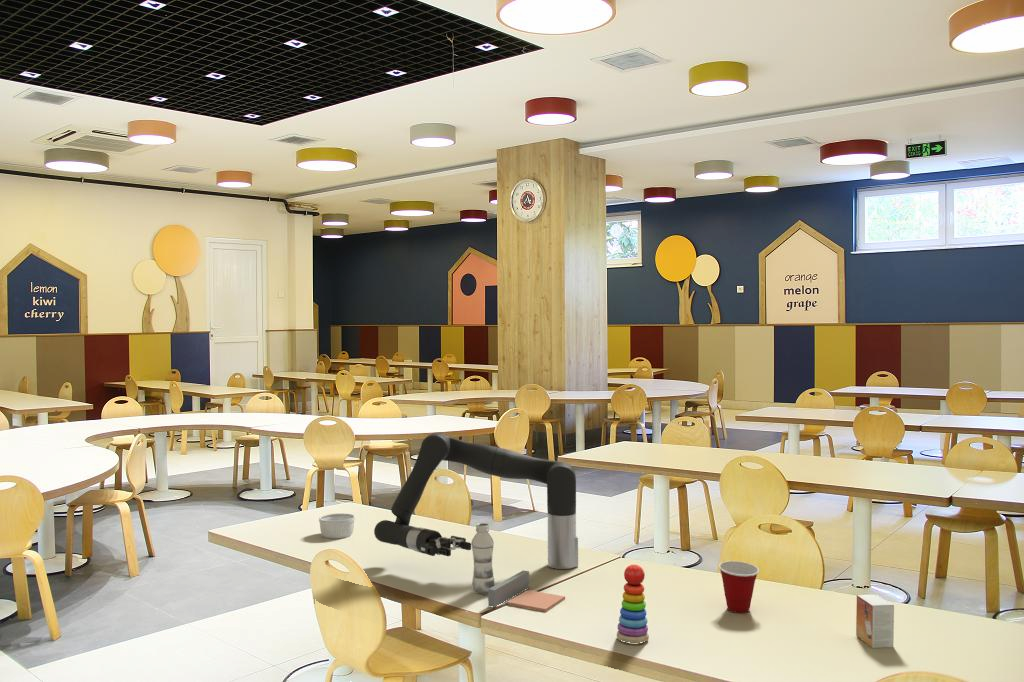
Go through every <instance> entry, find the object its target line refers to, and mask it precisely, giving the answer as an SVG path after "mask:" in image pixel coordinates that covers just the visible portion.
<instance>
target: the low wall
mask: <svg viewBox="0 0 1024 682" xmlns="http://www.w3.org/2000/svg"><path fill="white" fill-rule="evenodd" d="M527 588H528V589H530V571H528V570H524V569H522V571H519V572H518V573H516V574H514V575H512V576H509V577H508V578H506V579H505V580H503V581H501V582H499V583H497V584H495V586H493V587H491V588H490V589H488V593H487V594H488V597H487V598H488V599H487V600H488V605H487V606H488V607H489V606H493V607H496V606H497V605H499V604H501V603H503V602H504V601H506V600H508V599H509V600H511V599H513V598H514V597H513V596H515V595H516V596H518V595H520V594H522V593H523V592H525V591H526V590H525V589H527ZM528 589H527V590H528ZM524 590H525V591H524ZM522 591H523V592H522ZM519 593H520V594H519ZM517 594H518V595H517ZM516 596H515V597H516ZM512 597H513V598H512ZM510 598H511V599H510ZM509 600H508V601H509ZM506 602H507V601H506ZM504 603H505V602H504ZM504 603H503V604H504ZM501 605H502V604H501ZM499 606H500V605H499ZM497 607H498V606H497ZM497 607H496V608H497Z"/></svg>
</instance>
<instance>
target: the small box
mask: <svg viewBox="0 0 1024 682" xmlns="http://www.w3.org/2000/svg"><path fill="white" fill-rule="evenodd" d="M855 615H856V616H855V618H856V620H855V621H856V622H855V624H856V625H855V636H856V637H857V638H859V639H861V640H862V641H863V642H864V643H865V644H866V645H868V646H869V647H870V648H871V649H880V648H881V649H882V648H884V649H885V648H894V636H895V635H894V633H895V632H894V629H895V626H894V625H895V624H894V623H895V620H894V619H895V605H894V604H893V603H891V602H889V601H888V600H887V599H885V598H883V597H882V596H880V595H879V594H857V595H856V613H855Z"/></svg>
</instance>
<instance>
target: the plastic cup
mask: <svg viewBox="0 0 1024 682" xmlns="http://www.w3.org/2000/svg"><path fill="white" fill-rule="evenodd" d="M718 568H719V570H720V575H721V579H722V580H721V581H722V585H723V590H724V591H723V592H724V597H725V601H726V607H727V609H728V611H730V612H732V613H737V614H743V613H745V614H747V613H749V611H750V609H751V603H752V599H753V594H754V588H755V583H756V579H757V577H758V574H759V573H760V569H759V567H757V566H756V565H754V564H752V563H749V562H744V561H738V560H727V561H726V560H725V561H723V562H720V563H719V564H718Z"/></svg>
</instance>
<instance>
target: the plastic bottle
mask: <svg viewBox="0 0 1024 682" xmlns="http://www.w3.org/2000/svg"><path fill="white" fill-rule="evenodd" d="M475 528H476V529H475V532H476V533H475V534H474V536H473V537H472V539H471V542H470V543H471V550H472V557H473V572H472V573H473V574H472V575H473V576H472V580H471V581H472V582H471V586H472V590H473V592H475V593H478V594H488V589H490V588H491V587H493V586H495V585H496V582H495V577H494V571H493V570H494V568H493V554H494V546H495V544H494V543H495V542H494V538H492V536H491V534H490V533H489V532H490V525H489V523H485V522H484V523H482V522H481V523H477V524H476V525H475Z"/></svg>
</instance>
